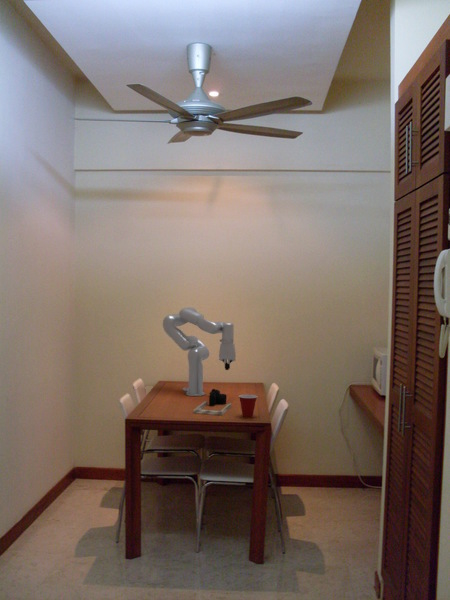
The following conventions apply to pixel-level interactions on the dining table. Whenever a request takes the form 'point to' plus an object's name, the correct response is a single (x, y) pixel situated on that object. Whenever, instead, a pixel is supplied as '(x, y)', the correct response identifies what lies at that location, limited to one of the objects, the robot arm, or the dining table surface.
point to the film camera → (216, 398)
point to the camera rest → (198, 410)
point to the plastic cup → (247, 404)
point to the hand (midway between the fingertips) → (227, 369)
